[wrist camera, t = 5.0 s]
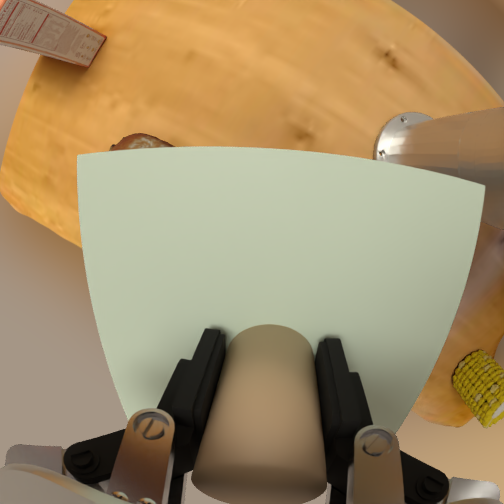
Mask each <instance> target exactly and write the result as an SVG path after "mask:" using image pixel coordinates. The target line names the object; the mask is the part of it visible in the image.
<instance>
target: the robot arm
mask: <svg viewBox="0 0 504 504" xmlns="http://www.w3.org/2000/svg"><path fill="white" fill-rule="evenodd" d="M401 119H402V121H401ZM379 152H381V156H380V155H379ZM374 160H377V161H383V162H389V163H394V164H399V165H404V166H409V167H414V168H419V169H424V170H428V171H432V172H437V173H441V174H445V175H449V176H453V177H457V178H460V179H464V180H468V181H471V182H475V183H478V184H482V185H485V194H484V202H483V209H482V215H481V222H484V223H486V224H488V225H491V226H493V227H496V228H499V229H502V230H504V107H500V108H493V109H487V110H481V111H475V112H469V113H463V114H458V115H452V116H447V117H442V118H437V119H433V118H431V117H430V116H427V115H425V114H422V113H417V112H406V113H403V114H399V115H397V116H395V117H393V118H392V119H390V120H389V121H388V122H386V124H385V125H384V126H383V127H382V129H381V130H380V132H379V134H378V136H377V139H376V143H375V147H374ZM225 355H226V337H225V334H221V332H220V330H217V329H209V328H205V329H204V332H203V334H202V336H201V338H200V341H199V343H198V345H197V348H196V350H195V352H194V355H193V357H192V359H191V360H188V359H182V358H181V359H180V360H179V362H178V364H177V366H176V368H175V370H174V372H173V374H172V376H171V378H170V381H169V383H168V385H167V387H166V389H165V391H164V393H163V395H162V397H161V400H160V402H159V404H158V406H157V408H147V409H142V410H140V411H138V412H136V413H134V414H133V415H132V416H131V418H130V419H129V421H128V424H127V427H126V429H123V430H120V431H117V432H113V433H110V434H107V435H103V436H100V437H97V438H93V439H89V440H86V441H82V442H78V443H75V444H73V445H71V446H70V447H69V448H67V449H63V448H62V447H61V446H34V445H22V444H19V445H14V446H12V447H10V449H9V450H8V451H7V454H6V463H5V466H4V467H2V468H1V469H0V504H184V500H185V490H186V481H187V472H189V471H192V470H193V469H194V465H195V462H196V458H197V455H198V451H199V448H200V444H201V441H202V437H203V434H204V430H205V426H206V423H207V419H208V416H209V412H210V409H211V405H212V402H213V398H214V395H215V391H216V387H217V384H218V380H219V377H220V373H221V370H222V366H223V362H224V359H225ZM315 368H316V376H317V384H318V392H319V401H320V410H321V419H322V429H323V439H324V450H325V462H326V475H327V482H328V486H327V495H326V503H325V504H503V503H501V502H500V501H499V498H500V491H499V488H498V486H497V485H496V484H495V483H492V482H487V481H478V480H470V479H463V478H456V477H452V478H451V479H448V478H447V477H446V475H445V474H444V473H443V472H441V471H440V470H438V469H435V468H433V467H431V466H429V465H427V464H425V463H423V462H421V461H420V460H418V459H416V458H414V457H412V456H410V455H408V454H406V453H404V452H403V451H401V450H400V449H399V442H398V439H397V436H396V435H395V433H394V432H393V431H392V430H390V429H389V428H387V427H384V426H381V425H373V421H372V417H371V414H370V410H369V406H368V403H367V399H366V396H365V392H364V389H363V385H362V382H361V379H360V376H359V373H358V372H349V368H348V364H347V361H346V357H345V354H344V350H343V346H342V343H341V340H340V339H339V338H325V339H324V342H319V344H318V349H317V353H316V358H315Z"/></svg>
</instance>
